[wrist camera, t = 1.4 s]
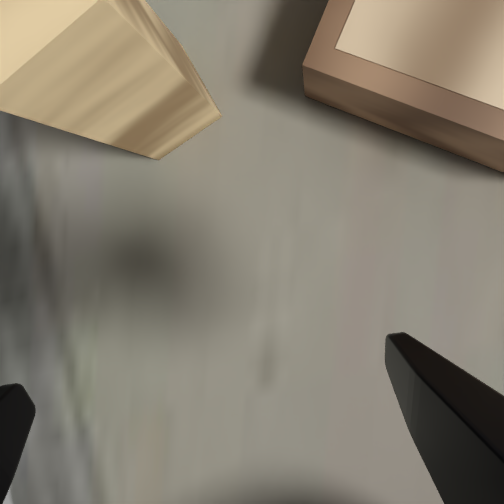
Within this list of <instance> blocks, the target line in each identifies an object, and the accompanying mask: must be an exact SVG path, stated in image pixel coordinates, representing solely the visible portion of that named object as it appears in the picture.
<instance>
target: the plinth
mask: <svg viewBox="0 0 504 504" xmlns="http://www.w3.org/2000/svg"><path fill="white" fill-rule="evenodd" d="M302 68H303V80H304V91H305V96H306V97H309V98H311V99H314V100H317V101H319V102H322V103H324V104H327V105H330V106H332V107H335V108H337V109H340V110H343V111H345V112H348V113H350V114H353V115H355V116H358V117H361V118H363V119H366V120H368V121H371V122H374V123H376V124H379V125H381V126H384V127H387V128H389V129H392V130H394V131H397V132H400V133H402V134H405V135H407V136H410V137H412V138H415V139H418V140H420V141H423V142H425V143H428V144H431V145H433V146H436V147H438V148H441V149H444V150H446V151H449V152H451V153H454V154H457V155H459V156H462V157H464V158H467V159H469V160H472V161H475V162H477V163H480V164H482V165H485V166H488V167H490V168H493V169H495V170H498V171H501V172H503V173H504V0H329V1H328V3H327V6H326V8H325V11H324V13H323V15H322V18H321V20H320V23H319V25H318V28H317V30H316V32H315V35H314V37H313V40H312V42H311V45H310V47H309V50H308V52H307V54H306V57H305V59H304V62H303V64H302Z"/></svg>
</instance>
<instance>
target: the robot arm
mask: <svg viewBox="0 0 504 504" xmlns="http://www.w3.org/2000/svg"><path fill="white" fill-rule="evenodd" d="M385 365H386V369H387V372H388V375H389V378H390V380H391V383H392V386H393V389H394V391H395V394H396V397H397V400H398V402H399V405H400V408H401V411H402V413H403V416H404V419H405V422H406V424H407V427H408V429H409V432H410V434H411V436H412V438H413V441H414V443H415V445H416V447H417V449H418V451H419V453H420V455H421V457H422V459H423V461H424V463H425V465H426V467H427V469H428V472H429V474H430V476H431V478H432V480H433V482H434V484H435V486H436V488H437V490H438V492H439V494H440V496H441V498H442V500H443V502H444V504H504V396H503V395H502V394H500V393H499V392H497V391H495V390H494V389H492V388H491V387H489V386H488V385H486V384H485V383H483V382H482V381H480V380H478V379H477V378H475V377H474V376H472V375H471V374H469V373H467V372H466V371H464V370H463V369H461V368H460V367H458V366H457V365H455V364H453V363H452V362H450V361H449V360H447V359H446V358H444V357H443V356H441V355H440V354H438V353H436V352H435V351H433V350H432V349H430V348H429V347H427V346H426V345H424V344H422V343H421V342H419V341H418V340H416V339H415V338H413V337H412V336H410V335H408V334H407V333H404V332H400V333H392V334H388V335H387V336H386V342H385ZM35 411H36V410H35V405H34V403H33V401H32V400H31V398H30V397H29V395H28V393H27V392H26V390H25V389H24V387H23V386H22V385H21V384H18V383H15V384H7V385H2V386H0V504H3V501H4V499H5V496H6V495H7V492H8V490H9V487H10V485H11V483H12V480H13V478H14V475H15V472H16V469H17V466H18V464H19V461H20V458H21V455H22V452H23V449H24V446H25V443H26V440H27V437H28V434H29V431H30V428H31V425H32V423H33V420H34V417H35Z"/></svg>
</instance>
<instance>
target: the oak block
mask: <svg viewBox="0 0 504 504" xmlns="http://www.w3.org/2000/svg"><path fill="white" fill-rule="evenodd" d="M0 110H1V111H4V112H7V113H10V114H13V115H16V116H20V117H23V118H26V119H29V120H32V121H36V122H39V123H42V124H45V125H48V126H51V127H55V128H58V129H61V130H64V131H67V132H71V133H74V134H77V135H80V136H83V137H86V138H90V139H93V140H96V141H99V142H102V143H106V144H109V145H112V146H115V147H118V148H122V149H125V150H128V151H131V152H134V153H137V154H141V155H144V156H147V157H150V158H153V159H157V160H160V159H161V158H162V157H164V156H165V155H167V154H168V153H170V152H171V151H173V150H174V149H176V148H177V147H179V146H180V145H181V144H183V143H184V142H186V141H187V140H189V139H190V138H192V137H193V136H195V135H196V134H197V133H199V132H200V131H202V130H203V129H205V128H206V127H208V126H209V125H211V124H212V123H213V122H215V121H216V120H218V119H219V118H221V117H222V115H221V113H220V111H219V110H218V108H217V106H216V104H215V103H214V101H213V99H212V97H211V96H210V94H209V92H208V90H207V89H206V87H205V85H204V83H203V82H202V80H201V78H200V77H199V75H198V73H197V71H196V70H195V68H194V66H193V64H192V63H191V61H190V59H189V57H188V56H187V54H186V52H185V50H184V49H183V47H182V45H181V44H180V43H179V42H178V40H177V39H176V38H175V37H174V35H173V34H172V33H171V32H170V31H169V29H168V28H167V27H166V26H165V24H164V23H163V22H162V21H161V19H160V18H159V17H158V16H157V15H156V13H155V12H154V11H153V10H152V8H151V7H150V6H149V5H148V4H147V2H146V1H145V0H0Z"/></svg>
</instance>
